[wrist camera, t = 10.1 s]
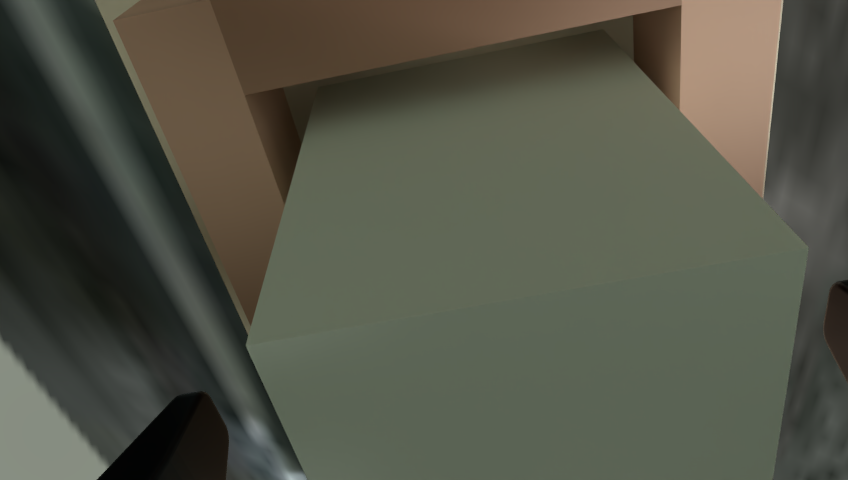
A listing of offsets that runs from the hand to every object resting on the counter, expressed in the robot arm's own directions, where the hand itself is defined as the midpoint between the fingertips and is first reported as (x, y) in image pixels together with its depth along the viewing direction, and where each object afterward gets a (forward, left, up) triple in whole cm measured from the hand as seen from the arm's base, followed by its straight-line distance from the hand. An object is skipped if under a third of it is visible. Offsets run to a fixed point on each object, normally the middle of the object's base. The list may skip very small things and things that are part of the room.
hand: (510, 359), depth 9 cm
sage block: (0, 0, -3) cm, 3 cm away
